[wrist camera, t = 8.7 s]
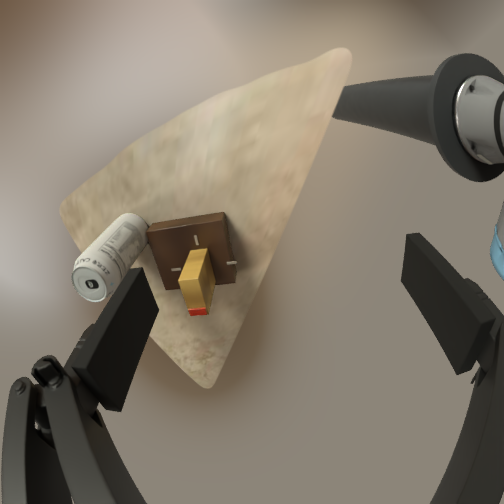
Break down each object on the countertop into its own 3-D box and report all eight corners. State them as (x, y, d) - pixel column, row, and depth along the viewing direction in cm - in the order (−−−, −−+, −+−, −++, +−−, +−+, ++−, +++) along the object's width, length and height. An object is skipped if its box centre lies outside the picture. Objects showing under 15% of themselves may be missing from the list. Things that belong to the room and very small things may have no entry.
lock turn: (190, 250, 40) (177, 281, 33) (207, 248, 40) (197, 279, 33) (199, 282, 43) (189, 317, 36) (215, 281, 42) (208, 315, 36)
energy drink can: (111, 214, 41) (59, 264, 28) (145, 207, 40) (98, 258, 27) (123, 249, 44) (80, 307, 30) (156, 243, 43) (119, 304, 30)
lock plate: (230, 210, 40) (228, 219, 38) (243, 278, 46) (242, 290, 43) (152, 223, 42) (145, 232, 39) (172, 286, 47) (168, 297, 44)
